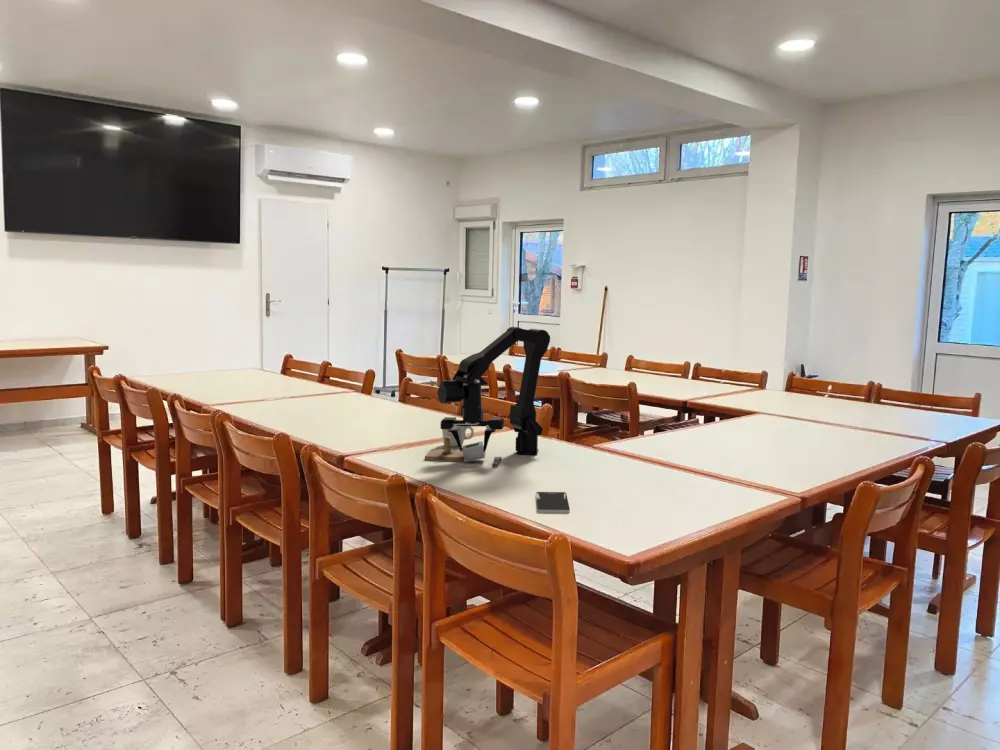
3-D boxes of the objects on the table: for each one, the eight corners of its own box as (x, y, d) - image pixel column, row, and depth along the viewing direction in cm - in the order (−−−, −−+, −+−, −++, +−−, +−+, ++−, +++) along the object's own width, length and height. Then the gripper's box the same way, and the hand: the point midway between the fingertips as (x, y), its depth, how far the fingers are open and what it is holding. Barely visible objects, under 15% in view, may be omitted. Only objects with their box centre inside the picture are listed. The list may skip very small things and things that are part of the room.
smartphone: (537, 509, 172) (535, 491, 187) (537, 515, 172) (535, 496, 187) (570, 510, 172) (565, 491, 187) (569, 515, 172) (565, 496, 187)
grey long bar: (501, 460, 223) (501, 454, 223) (497, 467, 215) (497, 461, 214) (496, 459, 224) (496, 454, 223) (492, 467, 215) (492, 461, 215)
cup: (475, 443, 247) (475, 420, 246) (472, 448, 239) (472, 424, 238) (443, 442, 248) (443, 419, 247) (439, 447, 240) (439, 423, 239)
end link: (485, 453, 224) (482, 441, 224) (484, 457, 219) (481, 445, 218) (466, 458, 225) (463, 445, 224) (465, 462, 219) (461, 449, 218)
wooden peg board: (469, 454, 231) (469, 434, 230) (463, 461, 221) (463, 441, 221) (432, 452, 233) (432, 433, 232) (424, 460, 223) (424, 440, 222)
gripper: (505, 396, 228) (506, 446, 229) (446, 396, 230) (447, 445, 231) (501, 402, 217) (502, 453, 218) (439, 402, 219) (440, 453, 220)
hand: (473, 451), depth 222 cm, fingers open, 7 cm apart
